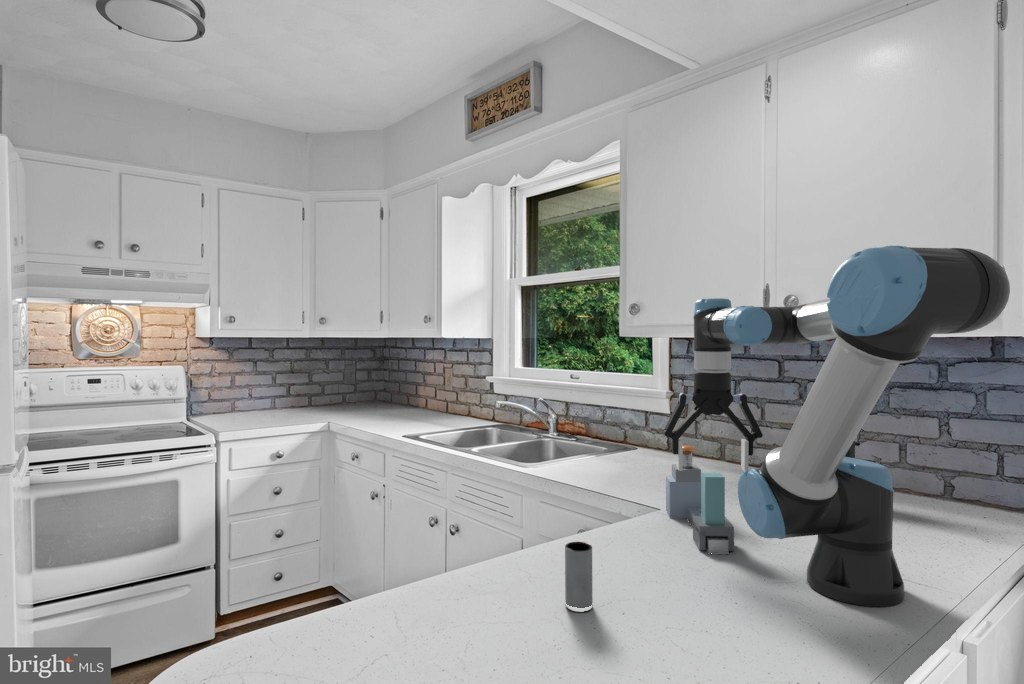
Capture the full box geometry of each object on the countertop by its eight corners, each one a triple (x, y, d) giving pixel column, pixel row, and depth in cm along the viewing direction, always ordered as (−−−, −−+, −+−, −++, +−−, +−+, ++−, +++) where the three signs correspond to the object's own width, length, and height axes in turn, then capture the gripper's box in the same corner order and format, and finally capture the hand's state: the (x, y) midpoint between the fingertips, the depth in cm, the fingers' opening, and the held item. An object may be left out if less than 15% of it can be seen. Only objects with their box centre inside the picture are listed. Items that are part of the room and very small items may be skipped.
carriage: (734, 550, 127) (733, 479, 127) (699, 550, 128) (699, 478, 127) (725, 539, 134) (725, 471, 134) (692, 538, 135) (692, 470, 134)
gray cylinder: (575, 598, 106) (574, 539, 106) (597, 605, 103) (597, 545, 103) (560, 607, 102) (559, 546, 102) (583, 615, 99) (582, 553, 99)
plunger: (696, 480, 150) (696, 448, 150) (678, 479, 151) (678, 448, 150) (693, 475, 155) (693, 445, 154) (675, 475, 155) (675, 444, 155)
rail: (728, 554, 126) (728, 540, 125) (708, 554, 126) (708, 539, 126) (704, 519, 148) (704, 507, 148) (687, 519, 149) (687, 507, 149)
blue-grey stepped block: (707, 518, 149) (707, 470, 149) (669, 518, 150) (669, 469, 150) (702, 511, 155) (701, 464, 155) (666, 510, 156) (665, 464, 156)
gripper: (767, 369, 133) (766, 466, 133) (650, 369, 135) (650, 464, 136) (778, 372, 125) (778, 475, 126) (655, 372, 127) (655, 473, 128)
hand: (711, 470), depth 131 cm, fingers open, 13 cm apart
